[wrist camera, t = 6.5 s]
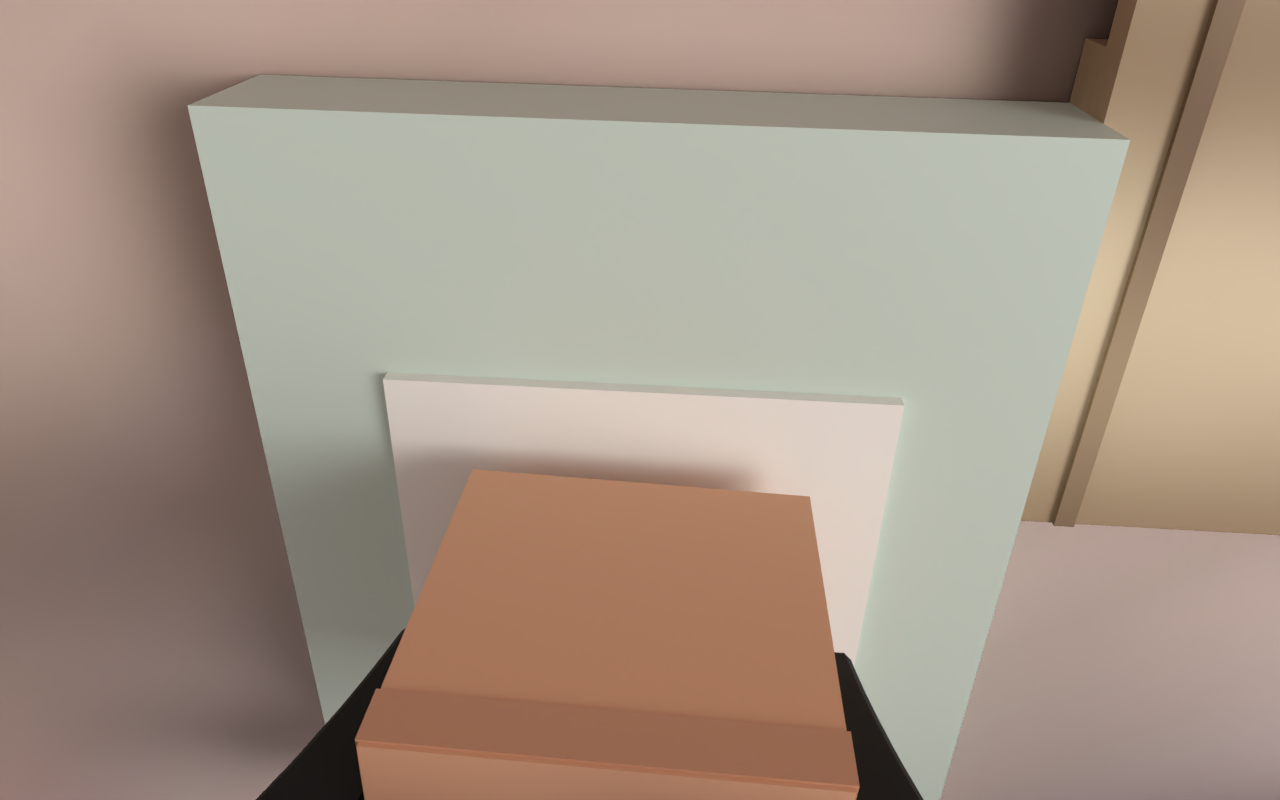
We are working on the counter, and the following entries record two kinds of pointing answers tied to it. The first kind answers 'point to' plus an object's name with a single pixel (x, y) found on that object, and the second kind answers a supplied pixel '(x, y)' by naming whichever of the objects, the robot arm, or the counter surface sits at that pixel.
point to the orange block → (614, 651)
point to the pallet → (1178, 282)
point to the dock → (660, 332)
